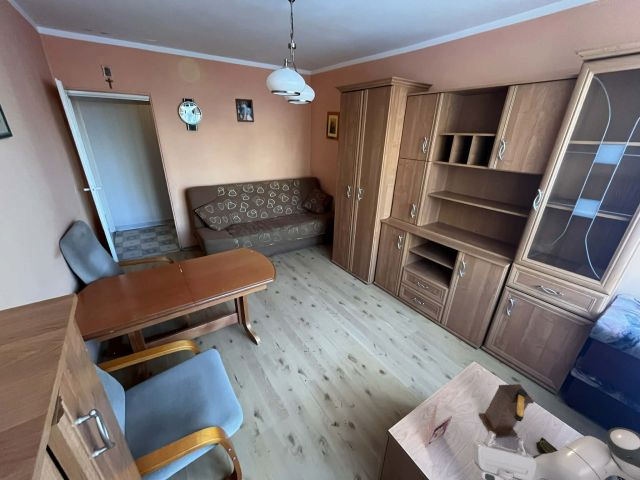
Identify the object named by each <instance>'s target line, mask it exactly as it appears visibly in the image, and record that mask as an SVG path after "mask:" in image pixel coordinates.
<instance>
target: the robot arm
mask: <svg viewBox="0 0 640 480" xmlns="http://www.w3.org/2000/svg"><path fill="white" fill-rule="evenodd" d="M495 436H496V434H495V433H494V432H493V431H489V432H488V435H487V436H486V437H485V438H484V439H483V441H481V440H477V439H475V440H473V442H472V448H471V456H472V459H473V460H472V464H471V465H472V467H473V468H474V470H475V471H476V473H477V474H478V475H479V476H480V477H481V478H482V479H483V480H544V479H548V480H606V479H607V478H609V477H612V476H615V477H616V478H617V479H618V480H640V433H638V432H637V431H634V430H633V429H630V428H626V427H619V426H618V427H613V428H610V429H608V431H606V435H605V442H606V443H605V442H603V441H602V440H601V439H599V438H597V437H594V436H592V435H585V436H581V437H579V438H576V439H574V440H573V441H571V442H569V443H567V444H566V445H565V446H563V447H562V448H560V449H559V450H558V449H557V450H558V451H556V452H553V453H548V454H541V453H539V454H536V455H533V456H532V455H531V454H529V453H528V452H526V449H525V447H524V440H523V439H522V438H520V437H518V436H517V437H515V440H514V443H516V444H517V445H518V447H517V450H515V449H512V448H508V447H504V446H500V445H497V444H493V443H492V441H493V440H496V439H497V438H496V437H495Z"/></svg>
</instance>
